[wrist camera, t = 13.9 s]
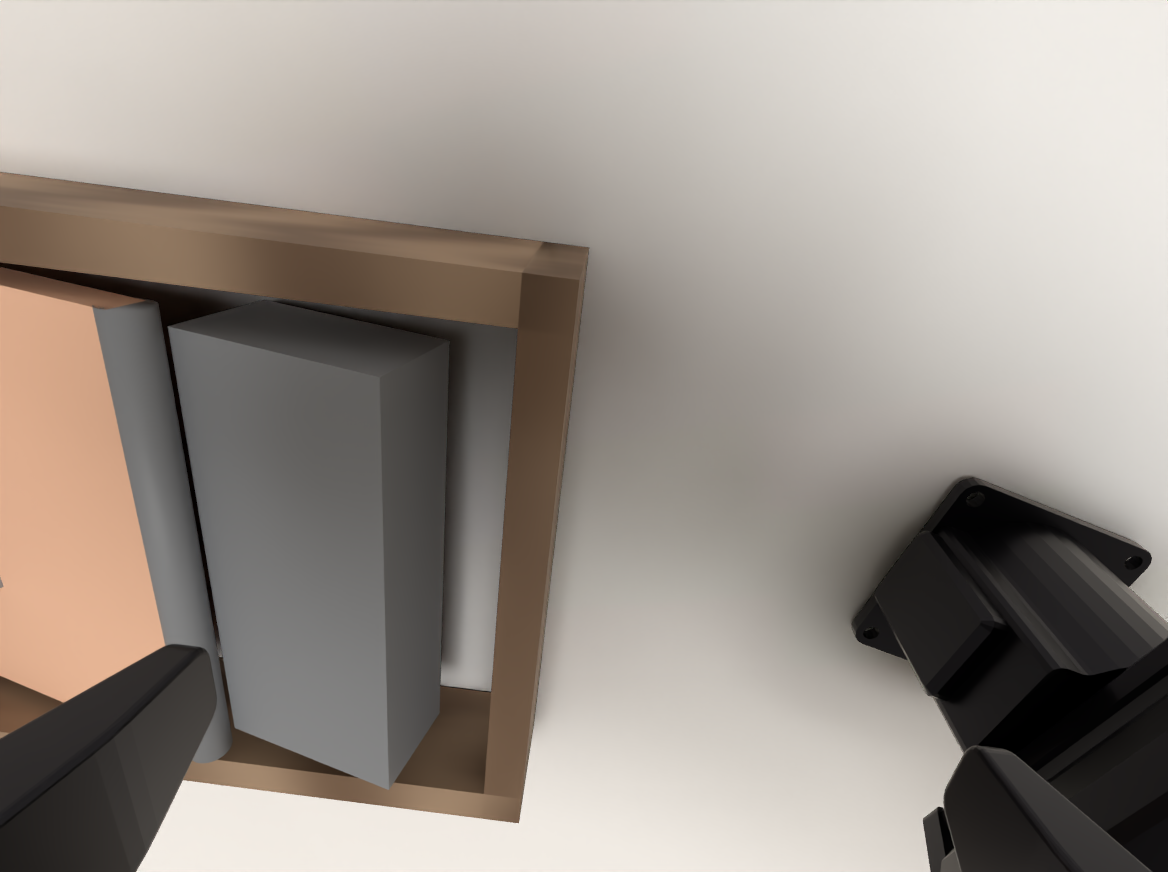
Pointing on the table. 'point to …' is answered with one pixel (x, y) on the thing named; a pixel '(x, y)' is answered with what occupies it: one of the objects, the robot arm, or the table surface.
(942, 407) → the table surface
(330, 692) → the flap
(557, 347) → the flap frame
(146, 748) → the robot arm
